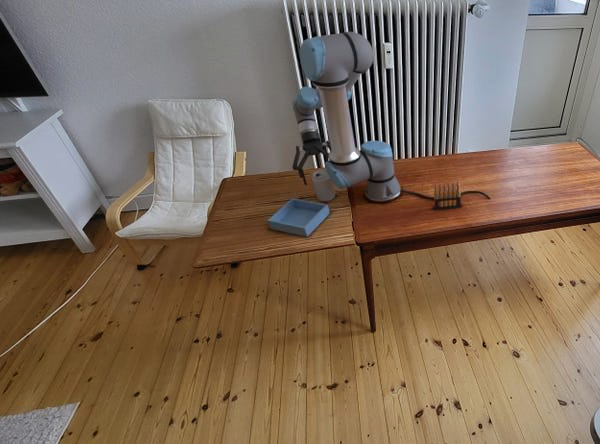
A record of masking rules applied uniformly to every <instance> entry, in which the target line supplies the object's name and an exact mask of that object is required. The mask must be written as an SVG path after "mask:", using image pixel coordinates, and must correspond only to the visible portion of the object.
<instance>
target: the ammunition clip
mask: <svg viewBox="0 0 600 444" xmlns="http://www.w3.org/2000/svg"><path fill="white" fill-rule="evenodd" d="M460 193H461V185H460V181H457V182H456V183H455V181H453V182H452V185H451V182H448V183H446V182H443V185H442V182H440V183H439V185H438V184H437V183H435V184H434V191H433V197H435V199H434V210H435V211H436V210H437V211H438V210H446V209H447V210H448V209H456V208H457V209H459V208H461V207H462V201H461V199H462V198H461V195H460Z"/></svg>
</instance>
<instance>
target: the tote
mask: <svg viewBox="0 0 600 444" xmlns="http://www.w3.org/2000/svg"><path fill="white" fill-rule="evenodd" d="M330 214H331V211H330V208H329V205H328V204H326V203H320V202H315V201H310V200H304V199H300V198H294V197H292V198H291V199H290V200H289V201H288V202H286V204H284V205H283V206H282V207H281V208H279V210H277V211H276V212H275V213H273V215H272V216H271V217H269V218H268V219H267V223H268V226H269V228H270V230H273V231H280V232H282V233H283V232H284V233H288V234H293V235H298V236H302V237H306V238H308V237H309V236H310V235H311V233H313V231H315V229H317V227H318V226H319V225H320V224H321V223H322V222H323V221H324V220H325V219H326V218H327V217H328V216H329V215H330Z"/></svg>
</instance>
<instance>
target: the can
mask: <svg viewBox="0 0 600 444" xmlns="http://www.w3.org/2000/svg"><path fill="white" fill-rule="evenodd" d="M311 181H312V185H313V188H314V191H315V194H316V197H317V200H319V201H321V202H325V203H326V202H330V201H332V200H333V199H334V198H335V197H336V193H335V187H334V183H333V182H332V180H331V178H330V177H329V175H328V173H327V171H326V169H320V170H316V171H314V172H313V173H312V176H311Z"/></svg>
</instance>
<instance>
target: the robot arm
mask: <svg viewBox="0 0 600 444" xmlns="http://www.w3.org/2000/svg"><path fill="white" fill-rule="evenodd" d="M299 58H300V64H301V68H302V70H303V74H304V75H305V78H306V79H308V80H309V81H311V82H312V85H313V86H315V88H313V87H311V86H302V87H301V88H300V89H299V90H298V93H297V95H296V97H295V98H293V100H292V110H293V112H294V115H295V116H294V117H295V119H296V123H297V126H298V131H299V134H300V138H301V141H302V146H298V145H296V146H295V151H296V152H295V155H294V159H293V162H292V165H291V166H292V170H293V171H297V172H298V176H299V178H300V179H303V184H304V186H307V185H308V184H307V180H306V176H305V172H304V165H305V164H306V162H307V160H308V158H309V157H310V156H312V157H313V156H315V155H316V156H317V155H320V154H322V155H323V156H325V157H326V158H328V160H327V161H326V162H325V163H324V168H325V170H326V171H327V173H328V175H329V177H330V178H331V180H332V183H333V185H335V187H336V188H338V189H339V190H345V189H347V188H351V187H352V186H354V185H357V184H359V183H362V182H365V181H366V184H365V189H364V193H365V198H366V199H367V200H368V201H370V202H372V203H377V204H385V203H390V202H392V201H395V200H396V199H398V198H399V197H400V196H401V194H402V193H403V194H409V195H413V196H414V195H415V196H419V197H421V198H423V199H428V200H435V197H434V196H427V195H425V194H422V193H419V192H415V191H412V190H411V191H410V190H404V189H401V185H400V183H399V181H398V179H397V177H396V175H395V174H396V173H395V167H394V158H393V156H394V154H393V151H392V147H391V145H390V144H389V143H387V142H385V141H381V140H369V141H365V142H363V143H362V144H361V145H360V146H361V147H360V149H359V148H357V147H356V142H355V138H354V137H355V136H354V132H353V131H354V130H353V126H352V119H351V114H350V107H349V100H351V98H352V91H351V89H352V88H353V86H355V84H356V82H357V81H358V79H359V78H360V77H361V76H362V74H364V73H367V72H368V71H369V69H370V68H371V66H372V64H373V62H374V49H373V47H372V45H371V43H370V41H369V40H368V39H367V38H366V37H365V36H364V35H362V34H360V33H358V32H354V31H344V32H338V33H333V34H332V33H331V34H326V35H321V36H320V35H319V36H318V35H316V36H314V37H311V38H306V39H305V40H303V41H302V43H301V45H300V49H299ZM318 109H322V111H323V116H324V121H325V125H326V130H327V136H328V139H329V140H326V142H323V141H322V138H321V135H320V133H319V128H318V124H317V121H316V117H315V110H318ZM324 147H325V148H327V149H328V150H329V151H330V152H328V151H326V150H325V149H324ZM303 151H304V155H303V156H302V158H301V160H300V156H301V153H302V152H303ZM299 160H300V162H299ZM298 162H299V163H298ZM465 194H479V195H482V196H484V197H485V198H486V199H488V200H491V199H492V198H491V197H490V195H488V194H486V193H485V192H483V191H480V190H465V191H462V192H461V191H460V196H463V195H465Z"/></svg>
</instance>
